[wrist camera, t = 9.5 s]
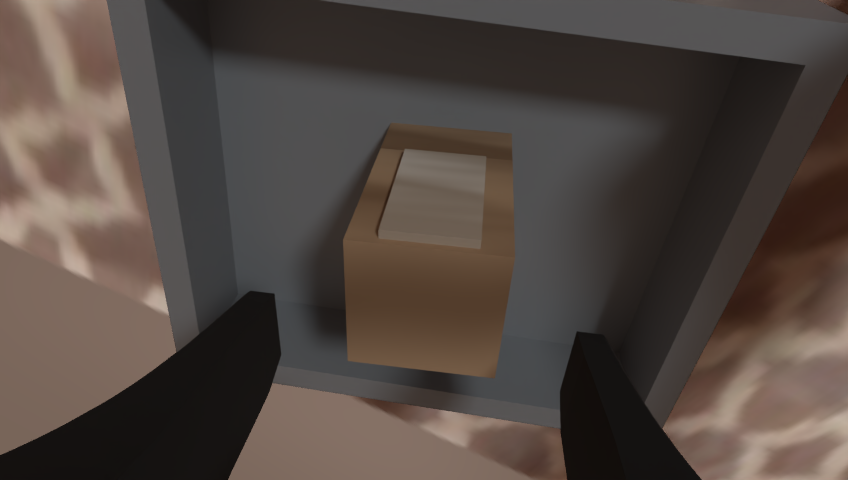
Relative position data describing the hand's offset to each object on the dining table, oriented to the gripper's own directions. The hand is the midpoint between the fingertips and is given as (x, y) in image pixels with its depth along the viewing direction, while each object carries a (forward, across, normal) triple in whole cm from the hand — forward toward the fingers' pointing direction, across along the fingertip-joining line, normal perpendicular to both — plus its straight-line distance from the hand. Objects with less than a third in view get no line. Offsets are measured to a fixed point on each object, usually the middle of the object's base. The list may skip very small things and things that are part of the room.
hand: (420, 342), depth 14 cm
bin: (+8, 0, 0) cm, 8 cm away
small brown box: (+8, 0, 0) cm, 8 cm away
